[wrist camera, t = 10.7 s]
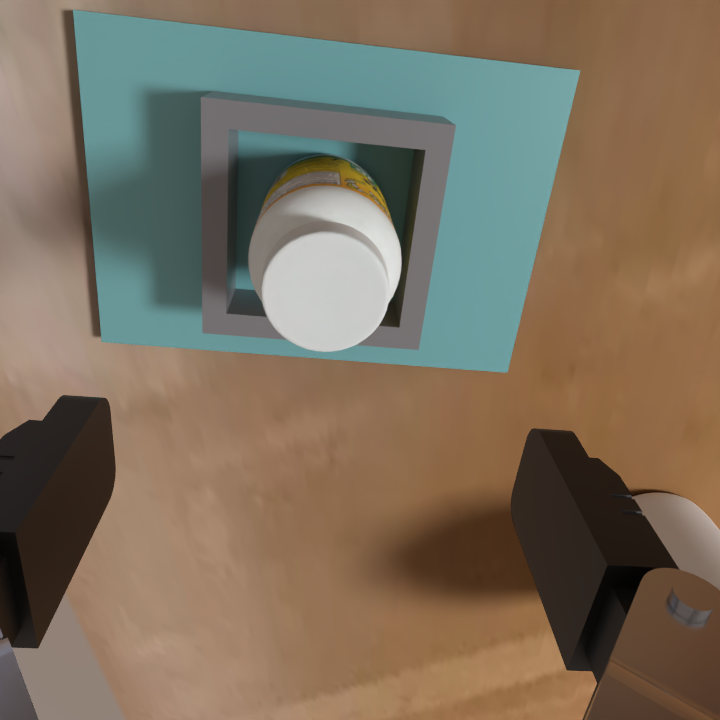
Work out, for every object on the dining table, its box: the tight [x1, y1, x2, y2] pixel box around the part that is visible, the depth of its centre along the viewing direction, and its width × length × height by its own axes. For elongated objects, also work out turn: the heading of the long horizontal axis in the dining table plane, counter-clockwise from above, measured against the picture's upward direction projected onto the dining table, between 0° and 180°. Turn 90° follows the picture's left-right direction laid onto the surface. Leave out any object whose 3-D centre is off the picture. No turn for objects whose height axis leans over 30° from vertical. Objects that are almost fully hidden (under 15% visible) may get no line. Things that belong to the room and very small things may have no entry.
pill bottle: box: [632, 493, 720, 590], centre depth 32 cm, size 8×8×15 cm
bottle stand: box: [73, 10, 580, 373], centre depth 27 cm, size 20×14×4 cm
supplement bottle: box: [248, 154, 401, 352], centre depth 23 cm, size 5×5×10 cm
